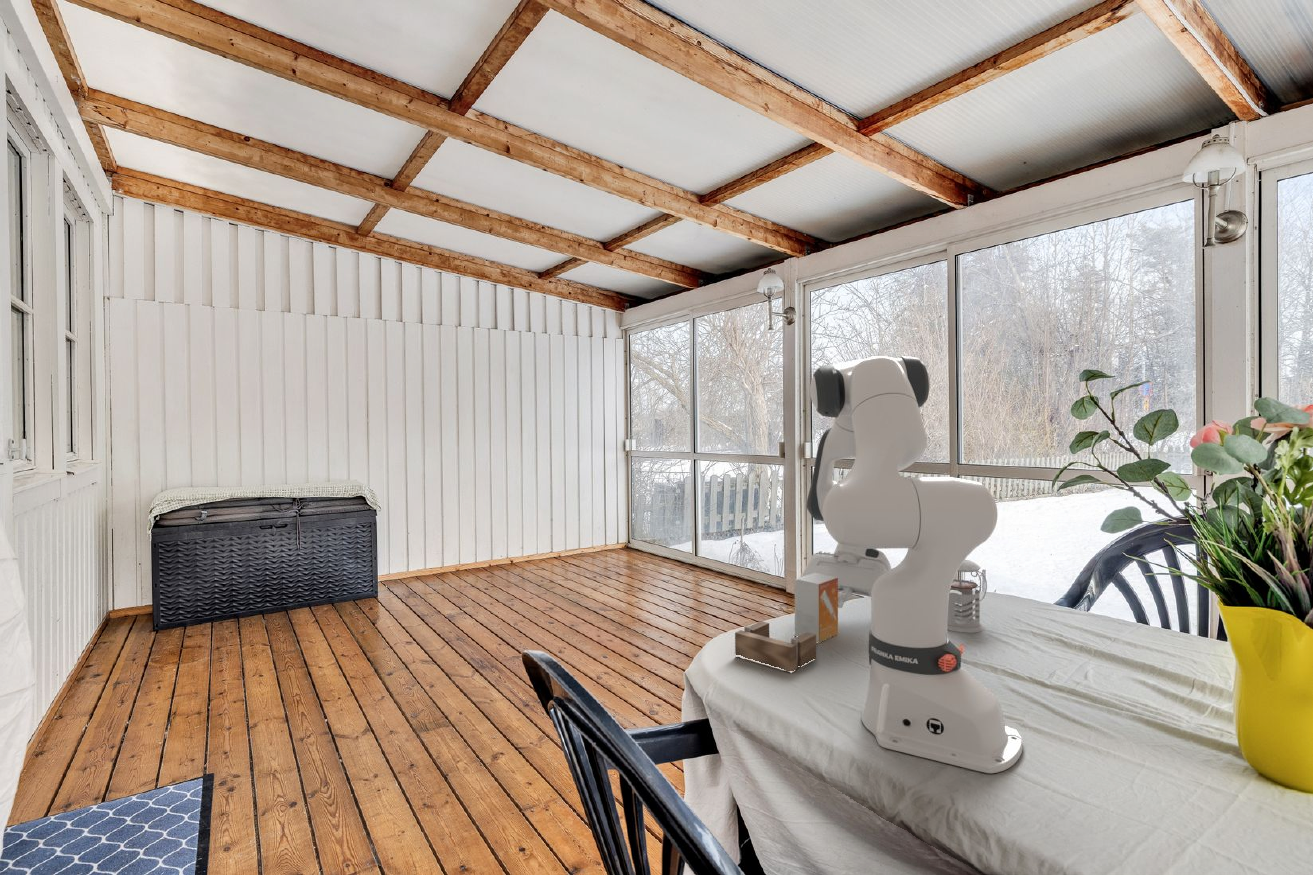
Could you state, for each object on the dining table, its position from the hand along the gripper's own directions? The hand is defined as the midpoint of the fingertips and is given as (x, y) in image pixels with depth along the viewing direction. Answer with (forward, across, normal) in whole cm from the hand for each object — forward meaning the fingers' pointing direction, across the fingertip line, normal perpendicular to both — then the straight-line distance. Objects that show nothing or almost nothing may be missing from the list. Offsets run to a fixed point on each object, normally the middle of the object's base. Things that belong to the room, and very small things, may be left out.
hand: (834, 605), depth 147 cm
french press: (-10, +22, +18) cm, 30 cm away
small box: (+9, 0, -2) cm, 10 cm away
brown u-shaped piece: (+21, 0, -14) cm, 25 cm away
